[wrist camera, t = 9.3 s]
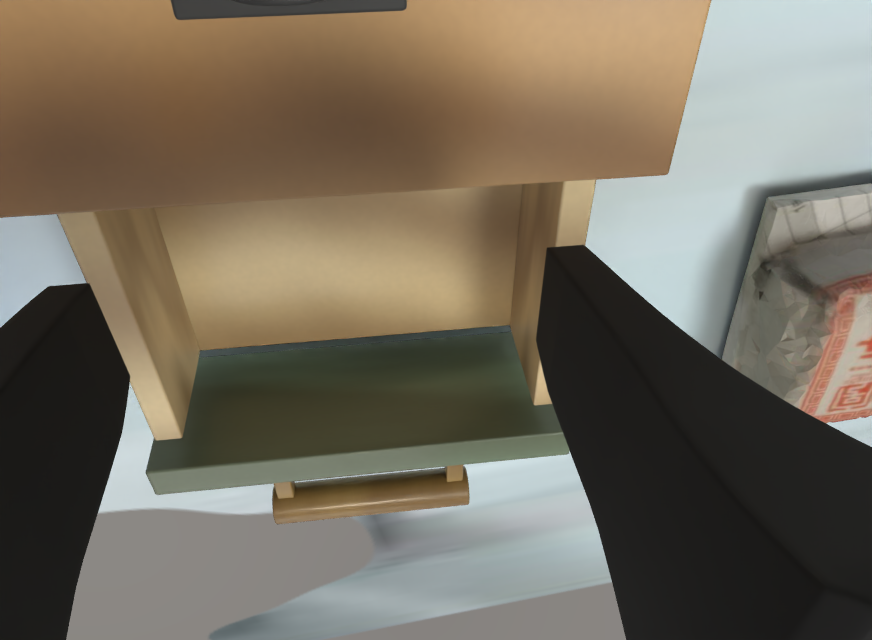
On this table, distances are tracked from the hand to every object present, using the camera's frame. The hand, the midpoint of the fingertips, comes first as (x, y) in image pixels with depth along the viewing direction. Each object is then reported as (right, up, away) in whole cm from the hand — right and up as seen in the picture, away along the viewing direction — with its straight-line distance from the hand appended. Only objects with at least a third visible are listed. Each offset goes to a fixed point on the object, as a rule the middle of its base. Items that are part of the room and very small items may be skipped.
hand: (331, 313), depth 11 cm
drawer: (-1, +1, +11) cm, 12 cm away
